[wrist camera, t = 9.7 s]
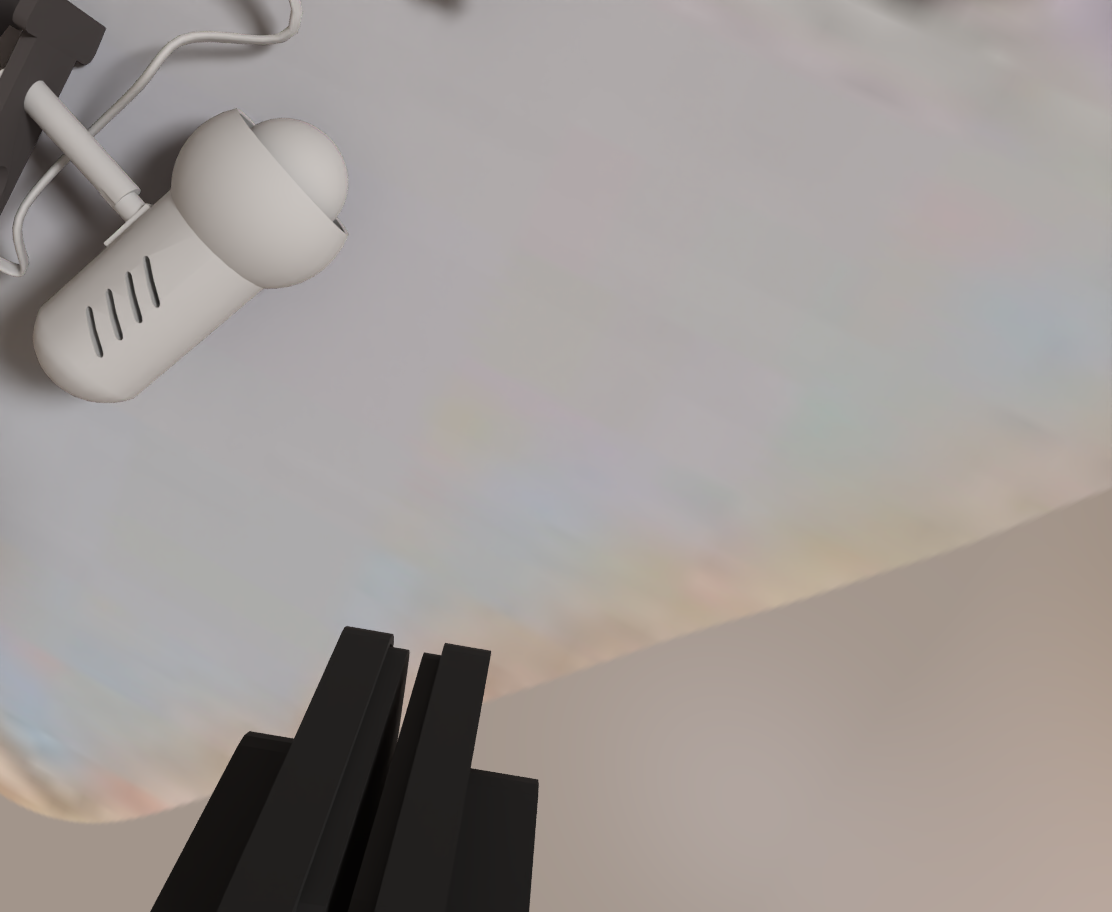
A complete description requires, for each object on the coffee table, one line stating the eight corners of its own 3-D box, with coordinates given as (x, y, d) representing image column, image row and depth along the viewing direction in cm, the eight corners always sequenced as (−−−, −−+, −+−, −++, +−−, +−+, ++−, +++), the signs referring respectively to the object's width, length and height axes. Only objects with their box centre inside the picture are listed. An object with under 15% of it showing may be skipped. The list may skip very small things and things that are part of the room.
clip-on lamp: (312, -249, 29) (-129, 149, 30) (264, -401, 22) (-294, 109, 23) (564, 74, 31) (145, 437, 32) (585, 17, 24) (61, 472, 25)
